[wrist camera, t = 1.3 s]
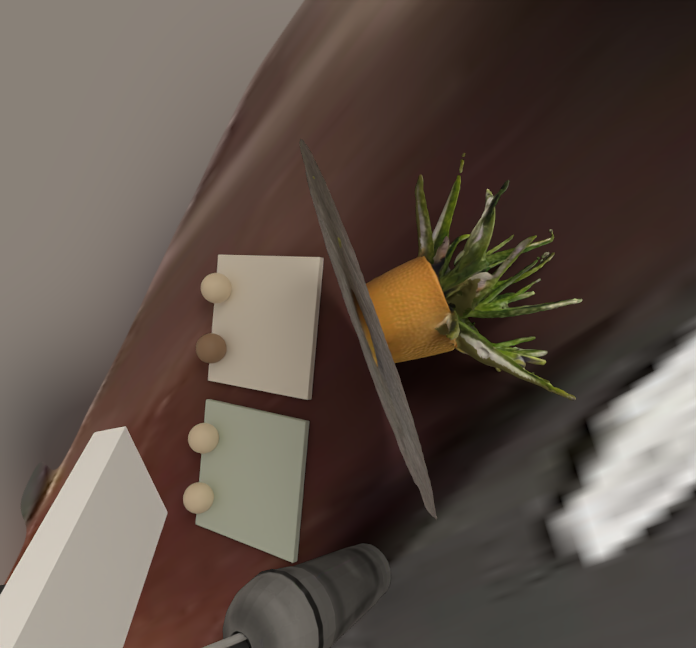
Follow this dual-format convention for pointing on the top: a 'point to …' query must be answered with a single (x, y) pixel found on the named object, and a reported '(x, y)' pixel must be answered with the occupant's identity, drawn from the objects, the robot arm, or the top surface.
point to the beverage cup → (306, 601)
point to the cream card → (263, 323)
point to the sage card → (250, 476)
